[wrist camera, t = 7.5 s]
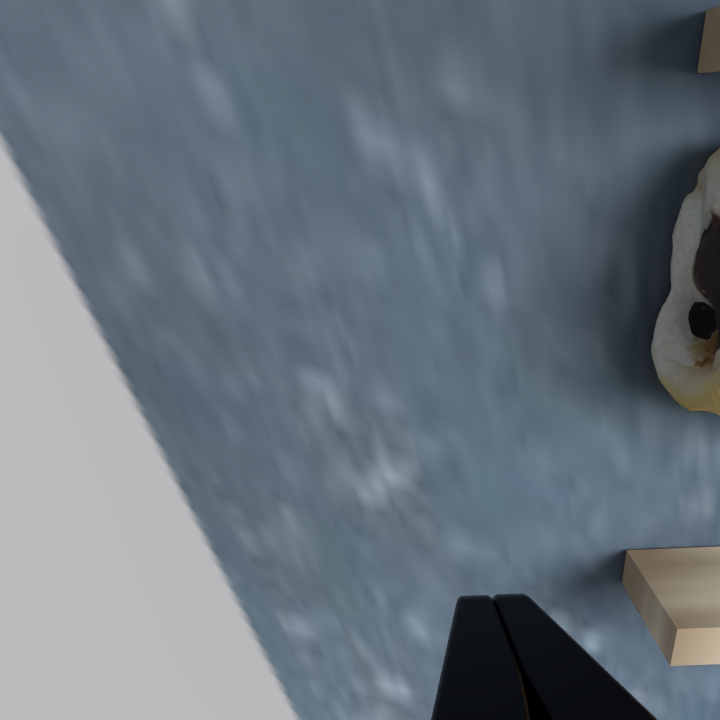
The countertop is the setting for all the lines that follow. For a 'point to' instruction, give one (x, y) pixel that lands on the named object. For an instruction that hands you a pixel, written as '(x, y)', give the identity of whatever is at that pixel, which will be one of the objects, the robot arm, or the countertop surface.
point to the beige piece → (681, 565)
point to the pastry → (693, 300)
